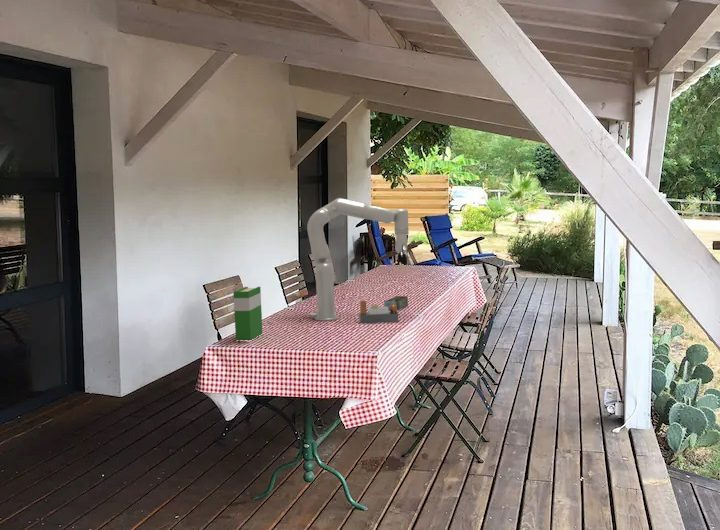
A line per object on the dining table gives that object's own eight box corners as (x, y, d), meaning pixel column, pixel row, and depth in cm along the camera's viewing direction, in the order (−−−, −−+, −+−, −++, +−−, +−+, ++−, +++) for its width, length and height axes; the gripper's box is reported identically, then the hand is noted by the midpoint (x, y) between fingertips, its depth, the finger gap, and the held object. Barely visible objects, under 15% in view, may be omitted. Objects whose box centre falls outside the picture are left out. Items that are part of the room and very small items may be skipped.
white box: (369, 314, 374) (369, 306, 373) (368, 313, 379) (368, 304, 378) (388, 313, 375) (388, 305, 374) (387, 312, 380) (387, 303, 379)
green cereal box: (248, 334, 354) (245, 286, 352) (262, 334, 353) (260, 286, 350) (236, 342, 337) (233, 291, 334) (251, 342, 335) (248, 291, 333)
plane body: (360, 323, 373) (359, 302, 372) (359, 321, 380) (358, 300, 379) (398, 322, 375) (397, 300, 373) (396, 319, 381) (396, 298, 380)
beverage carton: (383, 311, 411) (383, 300, 410) (396, 306, 429) (395, 295, 428) (396, 311, 408) (396, 300, 407) (408, 306, 425) (408, 295, 425)
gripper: (392, 231, 395) (393, 262, 397) (397, 232, 378) (398, 265, 380) (405, 230, 396) (406, 261, 398) (411, 232, 379) (412, 264, 381)
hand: (402, 263), depth 389 cm, fingers open, 9 cm apart
